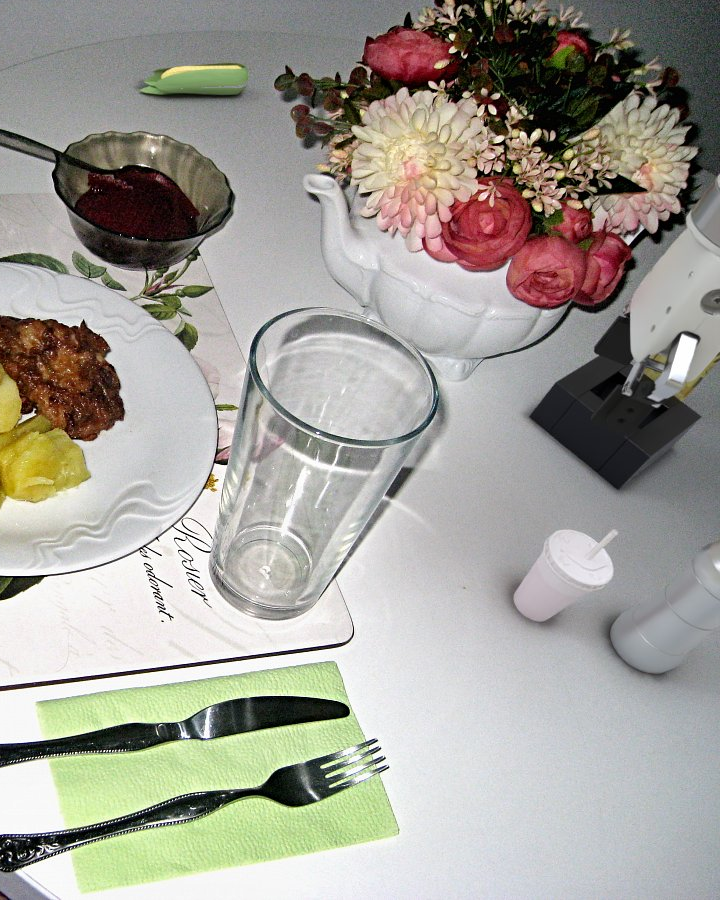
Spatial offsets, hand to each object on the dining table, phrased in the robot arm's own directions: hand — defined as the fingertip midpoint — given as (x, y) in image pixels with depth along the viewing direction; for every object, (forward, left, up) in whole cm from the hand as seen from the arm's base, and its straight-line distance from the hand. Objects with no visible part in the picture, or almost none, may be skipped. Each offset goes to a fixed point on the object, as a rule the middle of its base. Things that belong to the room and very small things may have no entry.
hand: (609, 391), depth 76 cm
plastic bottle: (-17, -5, -25) cm, 31 cm away
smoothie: (-8, 0, -25) cm, 26 cm away
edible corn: (+86, -35, -25) cm, 96 cm away
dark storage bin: (+2, -30, -25) cm, 39 cm away
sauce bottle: (+2, -43, -25) cm, 49 cm away
